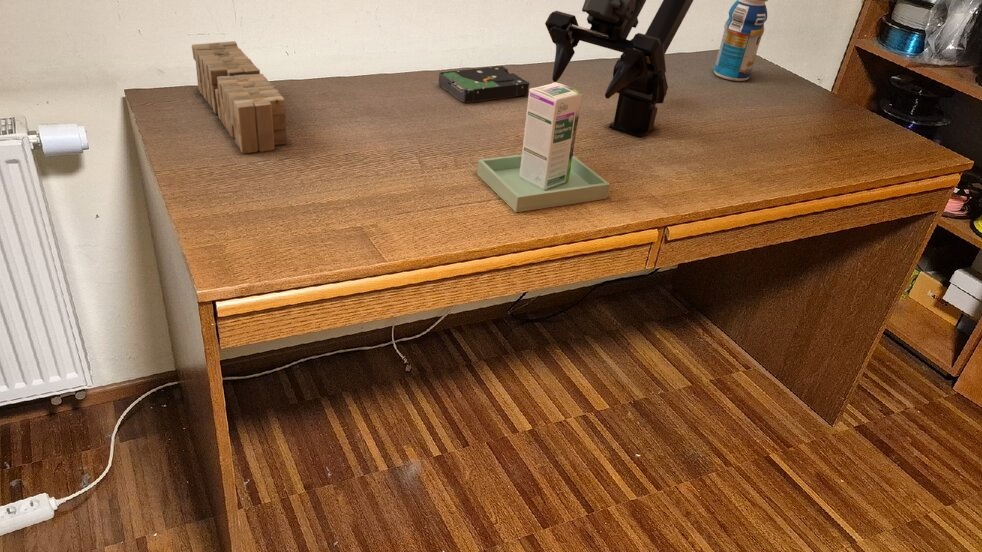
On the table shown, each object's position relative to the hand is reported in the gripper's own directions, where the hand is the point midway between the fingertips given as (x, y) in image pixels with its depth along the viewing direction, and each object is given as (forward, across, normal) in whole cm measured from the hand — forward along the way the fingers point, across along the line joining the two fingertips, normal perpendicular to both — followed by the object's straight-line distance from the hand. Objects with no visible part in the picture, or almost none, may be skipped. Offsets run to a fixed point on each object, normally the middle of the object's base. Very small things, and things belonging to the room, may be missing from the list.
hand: (579, 88), depth 123 cm
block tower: (+26, -51, -6) cm, 57 cm away
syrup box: (+14, 0, +5) cm, 15 cm away
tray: (+15, 0, +4) cm, 16 cm away
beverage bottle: (-42, +3, +61) cm, 74 cm away
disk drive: (-5, -30, +24) cm, 39 cm away
